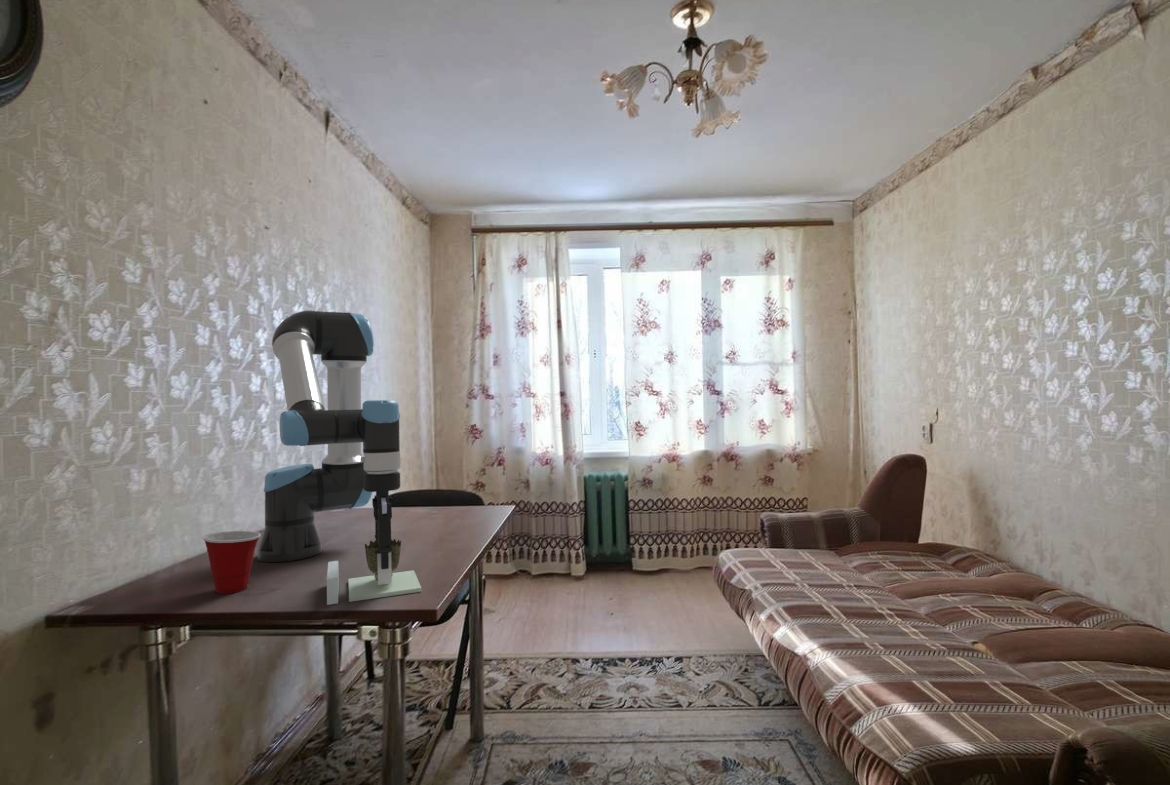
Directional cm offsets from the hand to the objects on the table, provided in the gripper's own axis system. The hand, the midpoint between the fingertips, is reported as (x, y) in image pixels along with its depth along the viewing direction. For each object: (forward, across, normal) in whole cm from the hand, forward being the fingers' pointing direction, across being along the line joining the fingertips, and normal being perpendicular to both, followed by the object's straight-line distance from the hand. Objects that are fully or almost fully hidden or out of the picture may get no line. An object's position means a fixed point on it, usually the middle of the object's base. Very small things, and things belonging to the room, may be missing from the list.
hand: (383, 578), depth 126 cm
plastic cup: (+2, -13, -30) cm, 33 cm away
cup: (0, 0, 0) cm, 0 cm away
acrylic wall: (+2, 0, -10) cm, 10 cm away
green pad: (+2, 0, 0) cm, 2 cm away
